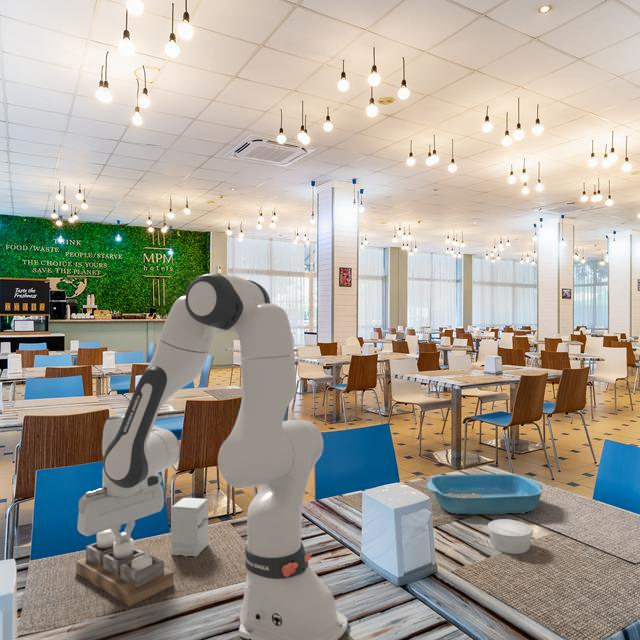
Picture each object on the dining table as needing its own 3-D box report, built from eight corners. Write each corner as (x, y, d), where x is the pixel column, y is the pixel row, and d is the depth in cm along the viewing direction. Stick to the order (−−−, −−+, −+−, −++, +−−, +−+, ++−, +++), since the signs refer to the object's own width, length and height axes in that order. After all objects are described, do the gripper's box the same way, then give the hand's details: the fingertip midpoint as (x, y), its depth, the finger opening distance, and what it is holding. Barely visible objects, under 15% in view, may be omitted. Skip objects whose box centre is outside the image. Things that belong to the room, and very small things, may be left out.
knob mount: (173, 585, 117) (173, 558, 117) (129, 606, 108) (129, 578, 108) (118, 556, 131) (118, 533, 131) (76, 573, 122) (76, 548, 122)
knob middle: (137, 554, 120) (137, 541, 120) (120, 561, 117) (119, 547, 116) (127, 549, 123) (126, 536, 123) (109, 556, 119) (109, 542, 119)
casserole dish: (436, 520, 154) (436, 496, 154) (419, 494, 176) (419, 474, 176) (556, 517, 155) (556, 494, 155) (524, 492, 178) (524, 472, 178)
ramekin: (488, 553, 132) (488, 533, 132) (487, 535, 143) (487, 516, 143) (535, 559, 129) (534, 538, 129) (530, 540, 139) (530, 521, 139)
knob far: (119, 543, 125) (119, 529, 125) (102, 549, 121) (102, 536, 121) (110, 538, 127) (110, 525, 127) (93, 544, 124) (93, 531, 124)
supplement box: (197, 557, 130) (196, 508, 130) (170, 555, 132) (169, 506, 132) (209, 545, 137) (208, 498, 137) (183, 543, 139) (183, 496, 139)
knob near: (156, 573, 115) (156, 559, 115) (138, 581, 112) (138, 567, 112) (145, 568, 118) (144, 554, 118) (127, 575, 115) (127, 561, 115)
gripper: (86, 497, 110) (86, 562, 110) (167, 474, 126) (167, 530, 126) (71, 491, 113) (72, 553, 114) (152, 469, 129) (152, 524, 130)
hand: (122, 541), depth 120 cm, fingers closed, pressing on knob middle
